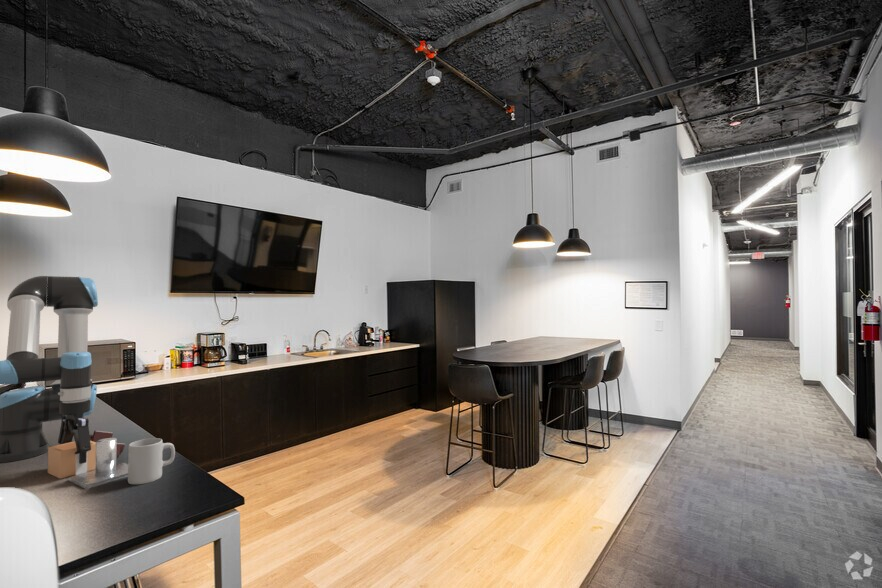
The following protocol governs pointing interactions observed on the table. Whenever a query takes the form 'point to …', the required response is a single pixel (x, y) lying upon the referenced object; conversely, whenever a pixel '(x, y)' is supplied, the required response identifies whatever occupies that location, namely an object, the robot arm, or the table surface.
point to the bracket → (103, 435)
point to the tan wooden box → (68, 459)
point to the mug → (147, 460)
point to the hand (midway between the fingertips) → (73, 469)
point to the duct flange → (103, 466)
